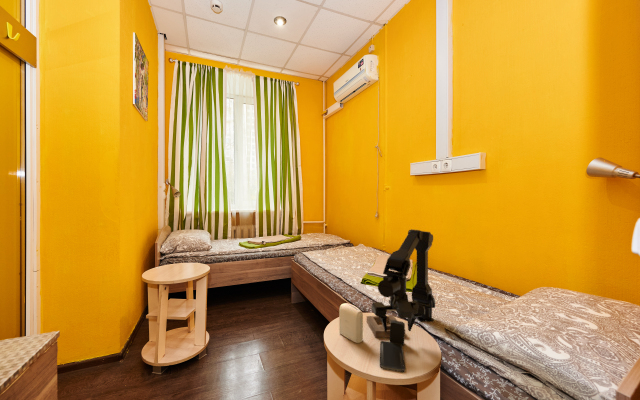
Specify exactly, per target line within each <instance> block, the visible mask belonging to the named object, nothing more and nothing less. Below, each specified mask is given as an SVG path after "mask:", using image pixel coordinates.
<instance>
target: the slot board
mask: <svg viewBox="0 0 640 400" xmlns="http://www.w3.org/2000/svg"><path fill="white" fill-rule="evenodd" d="M386 316H387V319H386V323H388V322H389V323H388V324H387V332H385V331H384V328H383V325H382V324H379V323H378V322H381V319H380V318H379V317H378V316H376V315H368V316H366V319H365V320H366V324H367V325H368V327H369V328H370V331H371V333H372V335H373V336H374V338H376V339H378V338H390V324H391V320H396V321H398V319H397V318H396V317H395V316H394V315H393V314H392V315H386ZM405 337H406V332H405V333H404V338H405Z"/></svg>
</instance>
